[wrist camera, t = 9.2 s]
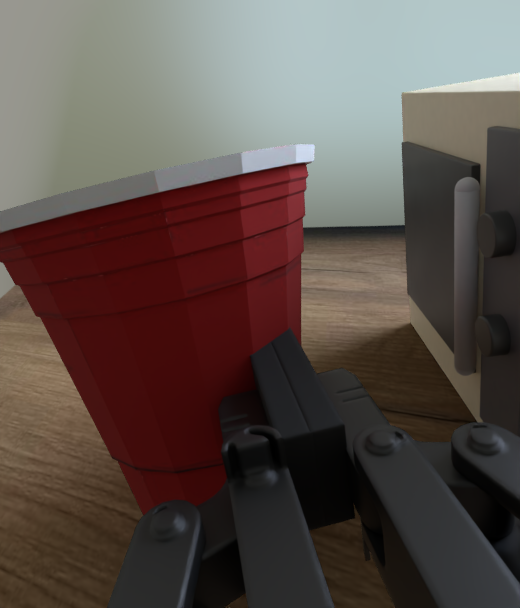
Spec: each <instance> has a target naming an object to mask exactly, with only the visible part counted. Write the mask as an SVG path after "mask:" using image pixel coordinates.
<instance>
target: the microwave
mask: <svg viewBox="0 0 520 608" xmlns="http://www.w3.org/2000/svg"><path fill="white" fill-rule="evenodd" d="M402 115H403V116H402V117H403V142H402V162H403V187H404V213H405V239H406V264H407V290H408V294H409V302H410V323H411V324H412V326H413V327H414V328H415V330H416V331H417V333H418V334H419V336H420V337H421V339H422V340H423V342H424V343H425V345H426V346H427V348H428V349H429V351H430V352H431V354H432V355H433V357H434V358H435V360H436V361H437V363H438V364H439V366H440V367H441V369H442V370H443V372H444V373H445V375H446V376H447V377H448V379H449V380H450V382H451V383H452V385H453V386H454V388H455V389H456V391H457V392H458V394H459V395H460V397H461V398H462V400H463V401H464V403H465V404H466V406H467V407H468V409H469V410H470V412H471V413H472V415H473V416H474V418H475V419H476V421H477V422H485V423H490V424H494V425H498V426H500V427H502V428H504V429H507V430H509V431H510V432H512V433H513V434H515V435H516V436H518V437H520V73H515V74H510V75H504V76H498V77H492V78H486V79H480V80H474V81H469V82H462V83H456V84H450V85H444V86H438V87H433V88H426V89H420V90H415V91H409V92H403V93H402Z"/></svg>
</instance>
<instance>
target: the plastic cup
mask: <svg viewBox="0 0 520 608" xmlns="http://www.w3.org/2000/svg"><path fill="white" fill-rule="evenodd" d="M314 148H315V145H309V144H308V145H307V144H293V145H287V146H280V147H274V148H267V149H261V150H254V151H248V152H241V153H237V154H231V155H227V156H222V157H217V158H212V159H208V160H203V161H198V162H193V163H188V164H184V165H179V166H174V167H169V168H164V169H159V170H155V171H150V172H146V173H143V174H138V175H135V176H130V177H127V178H122V179H118V180H114V181H110V182H106V183H102V184H98V185H94V186H90V187H86V188H82V189H78V190H73V191H70V192H65V193H61V194H58V195H54V196H51V197H48V198H44V199H41V200H37V201H34V202H31V203H27V204H24V205H21V206H17V207H14V208H11V209H7V210H4V211H0V262H2V263H4V265H5V267H6V269H7V271H8V272H9V274H10V276H11V278H12V279H13V281H14V283H15V285H19V286H20V287H21V289H22V291H23V293H24V295H25V297H26V298H27V300H28V302H29V304H30V306H31V308H32V310H33V311H34V313H35V315H36V316H37V317H40V318H41V320H42V322H43V324H44V326H45V328H46V329H47V331H48V333H49V335H50V337H51V339H52V341H53V343H54V345H55V347H56V349H57V351H58V353H59V355H60V357H61V359H62V361H63V363H64V365H65V367H66V369H67V370H68V372H69V374H70V376H71V378H72V380H73V382H74V384H75V386H76V388H77V390H78V392H79V394H80V396H81V398H82V400H83V402H84V404H85V406H86V408H87V410H88V412H89V413H90V415H91V417H92V419H93V421H94V423H95V425H96V427H97V429H98V431H99V433H100V435H101V437H102V439H103V441H104V443H105V445H106V447H107V449H108V451H109V453H110V455H111V456H112V458H113V459H115V460H116V461H118V463H119V465H120V467H121V470H122V472H123V474H124V476H125V478H126V480H127V482H128V484H129V486H130V488H131V490H132V492H133V494H134V496H135V499H136V501H137V503H138V505H139V507H140V509H141V511H142V513H143V515H145V514H146V513H147V512H148V511H149V510H150V509H151V508H153V507H155V506H157V505H159V504H161V503H162V502H166V501H171V500H186V501H188V502H190V503H192V504H194V505H195V506H198V505H199V504H201V503H203V502H205V501H207V500H208V499H210V498H211V497H213V496H214V495H215V494H216V493H217V492H218V491H219V490H220V489H221V488H222V487H223V485H224V484H225V482H226V479H227V475H226V471H225V467H224V463H223V459H222V455H221V449H222V444H223V438H222V431H221V425H220V419H219V413H218V408H219V406H220V403H221V401H222V399H223V397H226V396H230V395H234V394H239V393H243V392H247V391H251V390H256V386H255V380H254V375H253V370H252V365H251V359H250V355H252V354H254V353H255V352H257V351H258V350H260V349H261V348H262V347H264V346H265V345H267V344H268V343H270V342H271V341H272V340H274V339H275V338H277V337H278V336H280V335H281V334H282V333H284V332H285V331H287V330H288V329H289V327H290V328H291V329H292V331H293V333H294V335H295V337H296V338H297V340H298V342H299V344H300V345H301V253H302V252H303V251H304V246H303V219H302V218H303V217H304V216H305V202H304V191H305V190H306V178H307V177H308V172H307V167H306V165H307V164H309V163H311V162H313V161H314Z"/></svg>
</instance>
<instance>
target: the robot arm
mask: <svg viewBox="0 0 520 608" xmlns="http://www.w3.org/2000/svg"><path fill="white" fill-rule="evenodd" d="M250 359H251V365H252V370H253V375H254V380H255V386H256V390H251V391H247V392H243V393H239V394H234V395H230V396H226V397H223V399H222V401H221V403H220V406H219V408H218V413H219V419H220V425H221V431H222V438H223V444H222V449H221V455H222V459H223V463H224V467H225V471H226V475H227V479H226V482H225V484H224V485H223V487H222V488H221V489H220V490H219V491H218V492H217V493H216V494H215V495H214V496H213V497H211V498H210V499H208V500H207V501H205V502H203V503H201V504H199V505H198V506H195V505H194V504H192V503H190V502H188V501H186V500H171V501H166V502H162V503H161V504H159V505H157V506H155V507H153V508H151V509H150V510H149V511H148V512H147V513H146V514H145V515H144V516H142V518H141V519H140V521H139V523H138V525H137V526H136V528H135V531H134V534H133V537H132V539H131V542H130V545H129V548H128V551H127V553H126V556H125V559H124V562H123V564H122V567H121V570H120V573H119V576H118V578H117V581H116V584H115V587H114V589H113V592H112V595H111V598H110V600H109V603H108V606H107V608H225V606H226V605H228V604H230V603H231V602H233V601H234V600H236V599H237V598H239V597H240V596H242V595H243V594H245V593H246V597H247V603H248V608H335V607H334V604H333V601H332V598H331V595H330V592H329V589H328V586H327V583H326V580H325V577H324V574H323V571H322V568H321V565H320V562H319V559H318V556H317V553H316V550H315V547H314V544H313V541H312V538H311V535H310V532H309V530H313V529H316V528H320V527H324V526H328V525H331V524H335V523H339V522H343V521H346V520H350V519H354V518H355V514H354V505H355V507H356V509H357V512H358V514H359V516H360V520H361V529H362V539H363V548H364V555H365V560H366V561H368V560H370V553H371V555H372V558H373V560H374V562H375V564H376V567H377V569H378V571H379V573H380V575H381V578H382V580H383V582H384V584H385V586H386V589H387V591H388V593H389V595H390V597H391V600H392V602H393V604H394V606H395V608H520V437H518V436H516V435H515V434H513V433H512V432H510V431H509V430H507V429H504V428H502V427H500V426H498V425H494V424H490V423H485V422H474V423H468V424H465V425H461V426H460V427H459V428H457V429H456V430H455V431H454V432H453V435H452V437H451V442H420V441H416V440H413V439H412V437H411V436H410V435H409V434H408V433H407V432H405V431H404V430H402V429H400V428H398V427H395V426H391V425H390V424H389V422H388V421H387V419H386V418H385V416H384V415H383V414H382V412H381V411H380V409H379V408H378V407H377V405H376V404H375V402H374V401H373V399H372V398H371V397H370V396H369V394H368V392H367V391H366V389H365V388H363V385H362V384H361V382H360V381H359V379H358V378H357V377H356V375H354V374H352V373H351V372H349V371H347V370H345V369H343V368H340V369H335V370H331V371H327V372H323V373H318V374H316V372H315V371H314V369H313V367H312V365H311V363H310V362H309V360H308V358H307V356H306V354H305V353H304V351H303V349H302V347H301V345H300V344H299V342H298V340H297V338H296V337H295V335H294V333H293V331H292V329H291V328H290V327H289V329H288V330H287V331H285V332H284V333H282V334H281V335H280V336H278V337H277V338H275V339H274V340H272V341H271V342H270V343H268V344H267V345H265V346H264V347H262V348H261V349H260V350H258V351H257V352H255V353H254V354H252V355H250ZM353 503H354V505H353Z"/></svg>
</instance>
